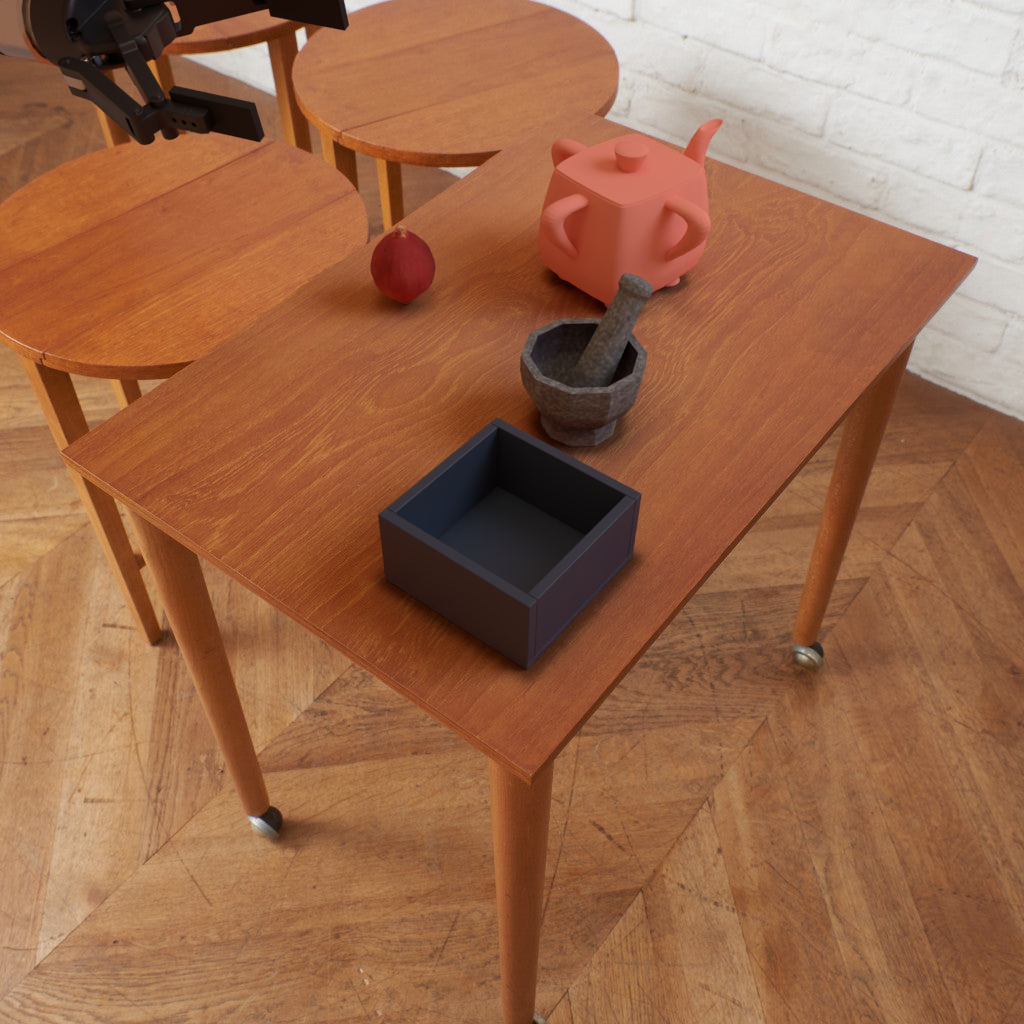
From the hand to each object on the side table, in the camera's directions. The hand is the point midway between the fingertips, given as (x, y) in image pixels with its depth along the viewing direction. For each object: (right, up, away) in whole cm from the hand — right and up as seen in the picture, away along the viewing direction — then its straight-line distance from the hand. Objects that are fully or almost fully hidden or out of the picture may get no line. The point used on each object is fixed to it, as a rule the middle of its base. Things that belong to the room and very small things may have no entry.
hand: (303, 64), depth 76 cm
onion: (+5, -13, +21) cm, 26 cm away
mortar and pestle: (+21, -25, +10) cm, 34 cm away
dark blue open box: (+15, -36, -1) cm, 39 cm away
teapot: (+26, -9, +25) cm, 37 cm away
